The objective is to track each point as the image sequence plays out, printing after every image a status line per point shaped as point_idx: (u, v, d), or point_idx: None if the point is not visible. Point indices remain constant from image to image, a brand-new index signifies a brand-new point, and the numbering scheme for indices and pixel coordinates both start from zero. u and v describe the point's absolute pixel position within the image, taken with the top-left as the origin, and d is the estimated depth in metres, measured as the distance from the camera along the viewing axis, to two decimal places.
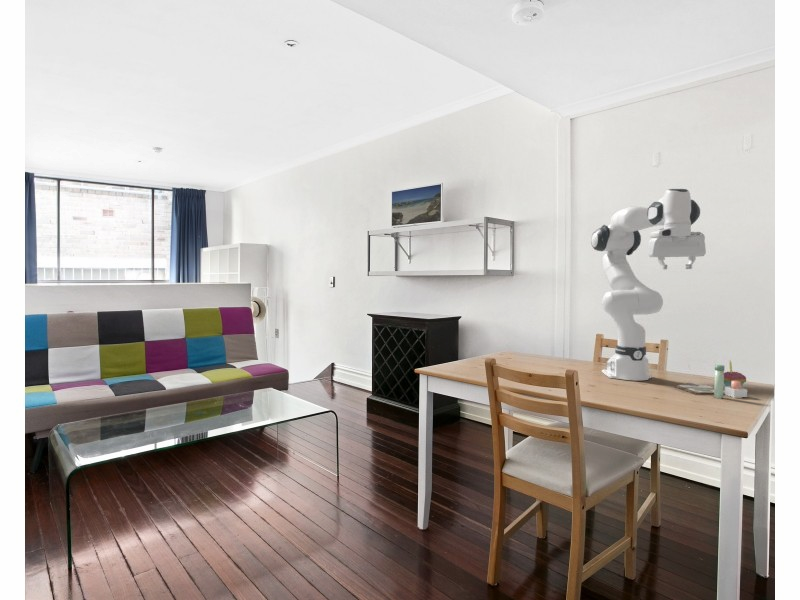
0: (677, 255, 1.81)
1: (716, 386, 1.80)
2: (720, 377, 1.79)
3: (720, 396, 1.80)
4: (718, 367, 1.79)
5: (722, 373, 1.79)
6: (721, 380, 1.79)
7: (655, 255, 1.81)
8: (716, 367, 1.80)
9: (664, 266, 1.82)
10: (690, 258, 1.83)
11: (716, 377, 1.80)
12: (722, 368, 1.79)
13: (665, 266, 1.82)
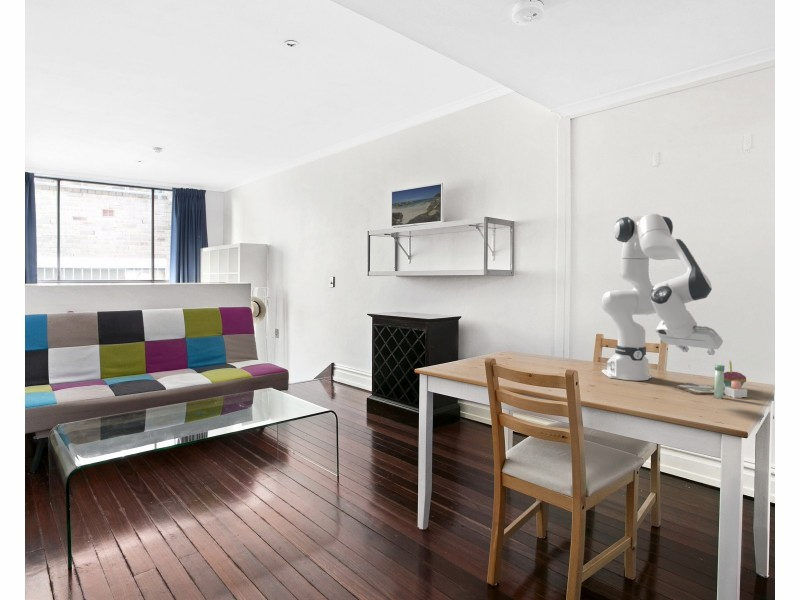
0: None
1: (716, 386, 1.80)
2: (720, 377, 1.79)
3: (720, 396, 1.80)
4: (718, 367, 1.79)
5: (722, 373, 1.79)
6: (721, 380, 1.79)
7: (666, 343, 1.81)
8: (716, 367, 1.80)
9: (682, 350, 1.79)
10: None
11: (716, 377, 1.80)
12: (722, 368, 1.79)
13: (683, 350, 1.78)
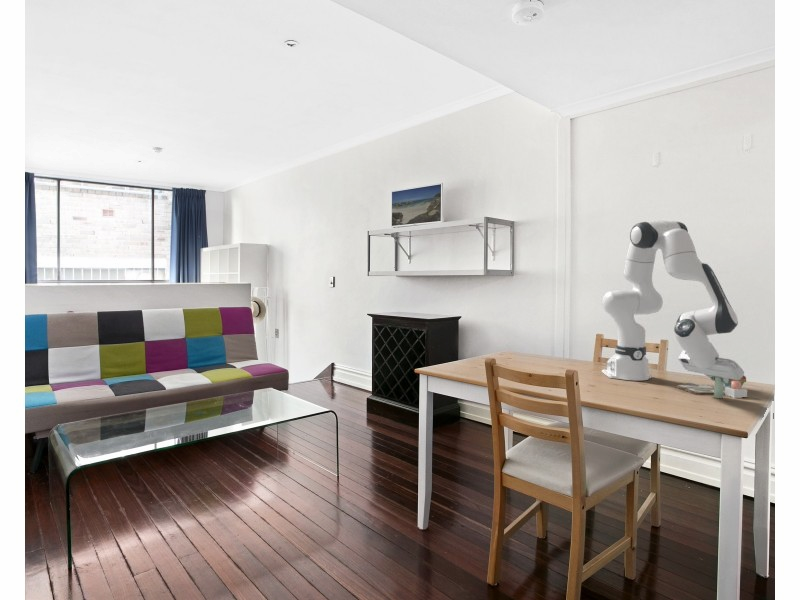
0: (709, 374, 1.79)
1: (716, 386, 1.80)
2: (720, 377, 1.79)
3: (720, 396, 1.80)
4: None
5: None
6: None
7: (688, 370, 1.87)
8: None
9: (710, 378, 1.83)
10: None
11: (716, 377, 1.80)
12: None
13: (712, 379, 1.82)
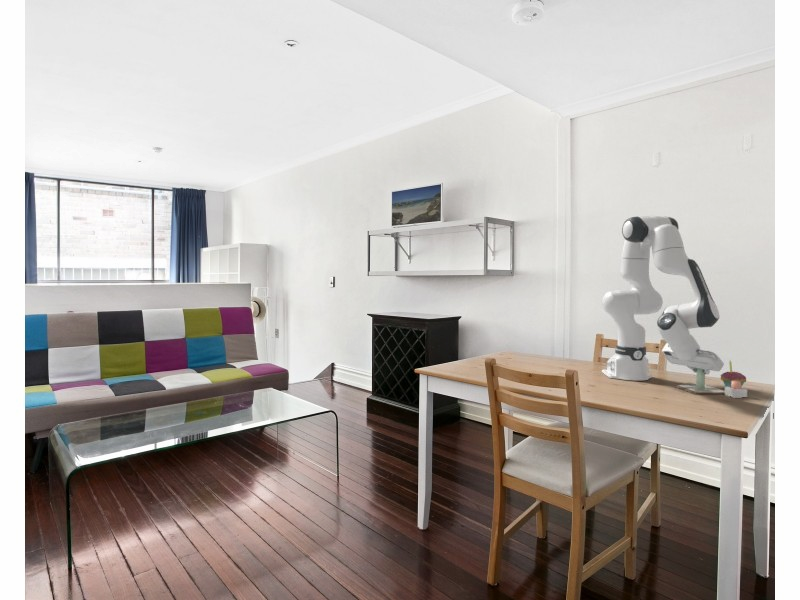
0: (691, 366, 1.87)
1: (698, 377, 1.87)
2: None
3: (702, 387, 1.87)
4: None
5: None
6: (702, 372, 1.86)
7: None
8: None
9: (693, 370, 1.90)
10: None
11: (698, 369, 1.87)
12: None
13: (694, 371, 1.89)
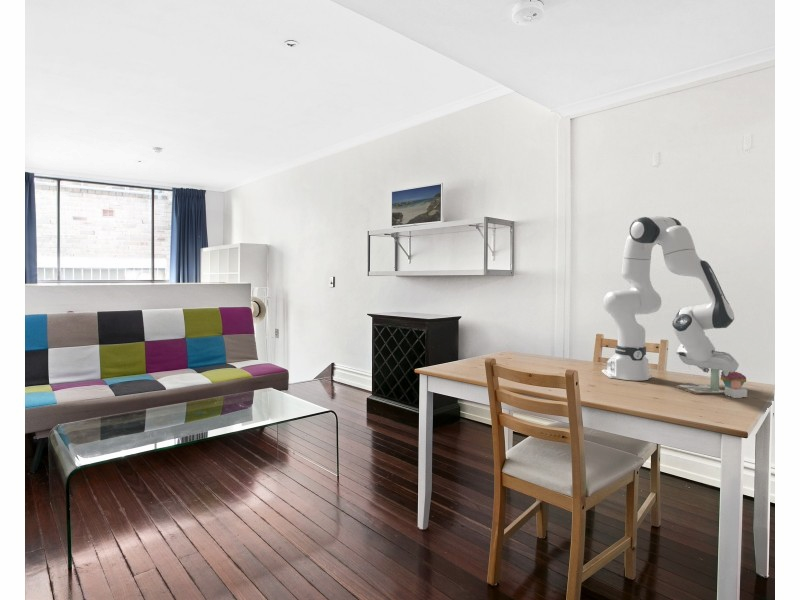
0: (706, 367, 1.88)
1: (712, 379, 1.89)
2: (716, 370, 1.88)
3: (716, 388, 1.88)
4: None
5: None
6: (717, 373, 1.88)
7: (685, 363, 1.96)
8: None
9: (703, 370, 1.93)
10: None
11: (712, 370, 1.89)
12: None
13: (704, 371, 1.92)
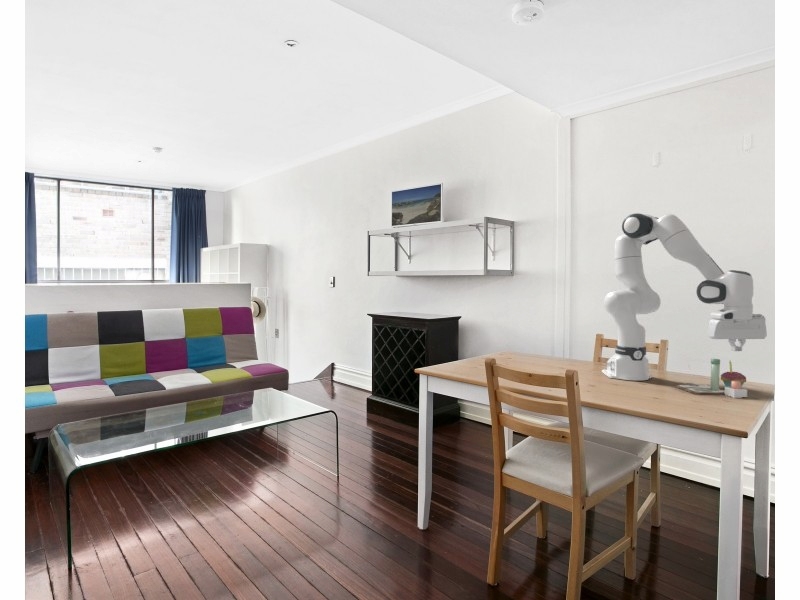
0: (738, 338, 1.80)
1: (712, 379, 1.89)
2: (716, 370, 1.88)
3: (716, 388, 1.88)
4: (714, 361, 1.88)
5: (718, 366, 1.88)
6: (717, 373, 1.88)
7: (716, 337, 1.80)
8: (712, 361, 1.89)
9: (735, 348, 1.81)
10: (740, 340, 1.82)
11: (712, 370, 1.89)
12: (718, 362, 1.88)
13: (736, 348, 1.81)
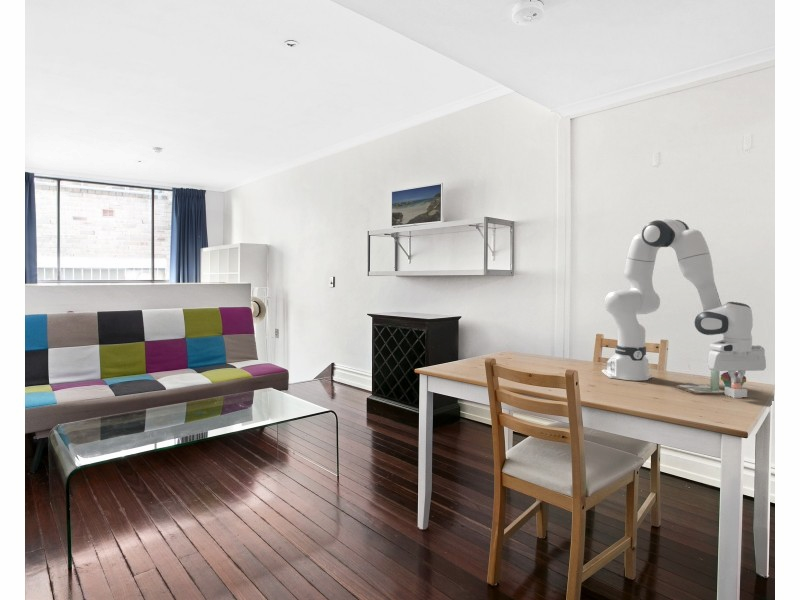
0: (738, 369, 1.81)
1: (712, 379, 1.89)
2: None
3: (716, 388, 1.88)
4: None
5: None
6: (717, 373, 1.88)
7: (716, 369, 1.80)
8: None
9: (735, 379, 1.82)
10: (740, 371, 1.83)
11: (712, 370, 1.89)
12: None
13: (736, 379, 1.82)
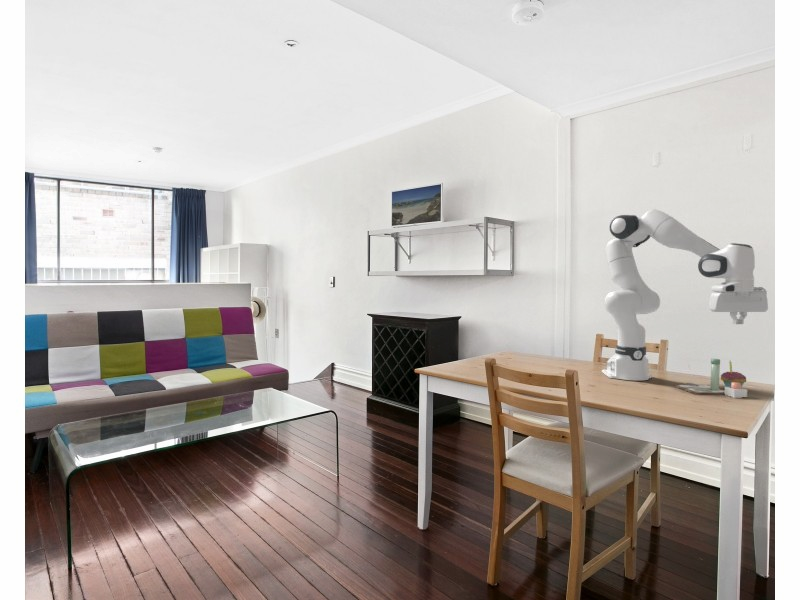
0: (740, 310, 1.80)
1: (712, 379, 1.89)
2: (716, 370, 1.88)
3: (716, 388, 1.88)
4: (714, 361, 1.88)
5: (718, 366, 1.88)
6: (717, 373, 1.88)
7: (718, 310, 1.80)
8: (712, 361, 1.89)
9: (736, 321, 1.81)
10: (741, 313, 1.82)
11: (712, 370, 1.89)
12: (718, 362, 1.88)
13: (738, 321, 1.81)
